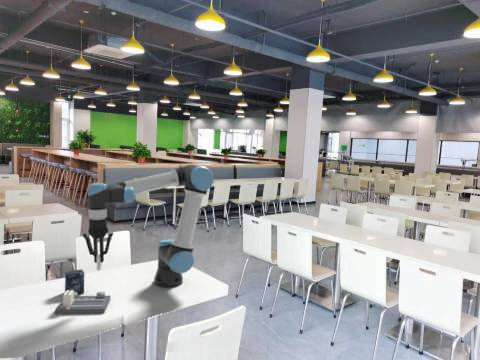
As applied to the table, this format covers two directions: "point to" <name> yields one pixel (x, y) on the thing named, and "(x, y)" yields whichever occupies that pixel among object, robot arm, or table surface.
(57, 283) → the table surface
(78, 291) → the box
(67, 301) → the block
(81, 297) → the console
